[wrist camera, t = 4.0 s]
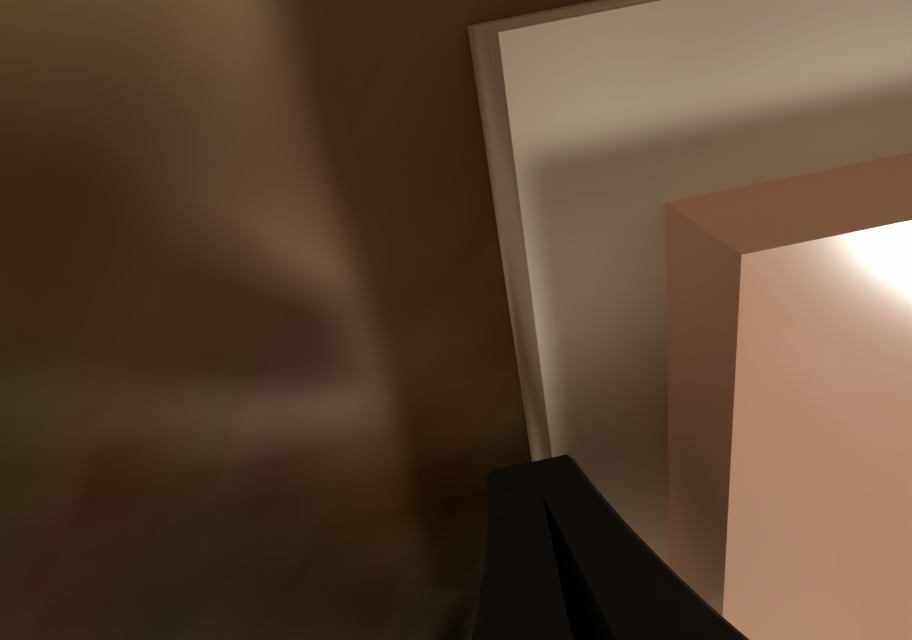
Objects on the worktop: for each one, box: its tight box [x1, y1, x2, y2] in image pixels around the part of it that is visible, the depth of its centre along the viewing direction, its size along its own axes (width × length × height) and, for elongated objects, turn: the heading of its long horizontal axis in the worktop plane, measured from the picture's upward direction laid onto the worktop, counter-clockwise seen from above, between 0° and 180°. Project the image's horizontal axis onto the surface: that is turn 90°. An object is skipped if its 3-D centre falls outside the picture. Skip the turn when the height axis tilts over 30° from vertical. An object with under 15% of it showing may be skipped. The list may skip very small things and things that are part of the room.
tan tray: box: [467, 0, 912, 567], centre depth 12 cm, size 14×12×3 cm
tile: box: [666, 153, 912, 640], centre depth 10 cm, size 9×6×2 cm, turn 10°
